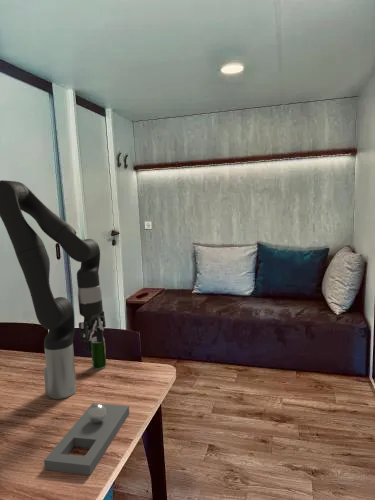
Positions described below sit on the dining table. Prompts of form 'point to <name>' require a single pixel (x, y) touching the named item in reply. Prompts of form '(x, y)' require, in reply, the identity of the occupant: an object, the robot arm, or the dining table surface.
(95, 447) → the hole board
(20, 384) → the dining table surface
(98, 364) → the beer can
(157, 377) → the dining table surface
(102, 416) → the steel ball
